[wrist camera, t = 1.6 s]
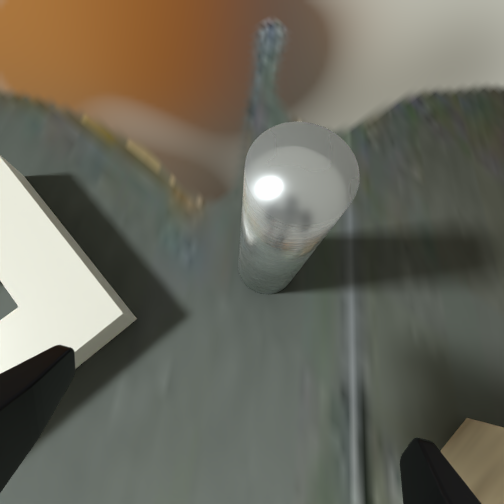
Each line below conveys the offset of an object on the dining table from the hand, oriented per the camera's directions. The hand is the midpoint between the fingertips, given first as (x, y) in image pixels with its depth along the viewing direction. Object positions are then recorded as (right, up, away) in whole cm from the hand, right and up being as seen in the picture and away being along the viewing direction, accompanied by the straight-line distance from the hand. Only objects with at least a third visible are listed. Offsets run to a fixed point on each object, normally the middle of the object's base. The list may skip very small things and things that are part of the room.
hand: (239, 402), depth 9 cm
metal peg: (+1, +3, +15) cm, 16 cm away
